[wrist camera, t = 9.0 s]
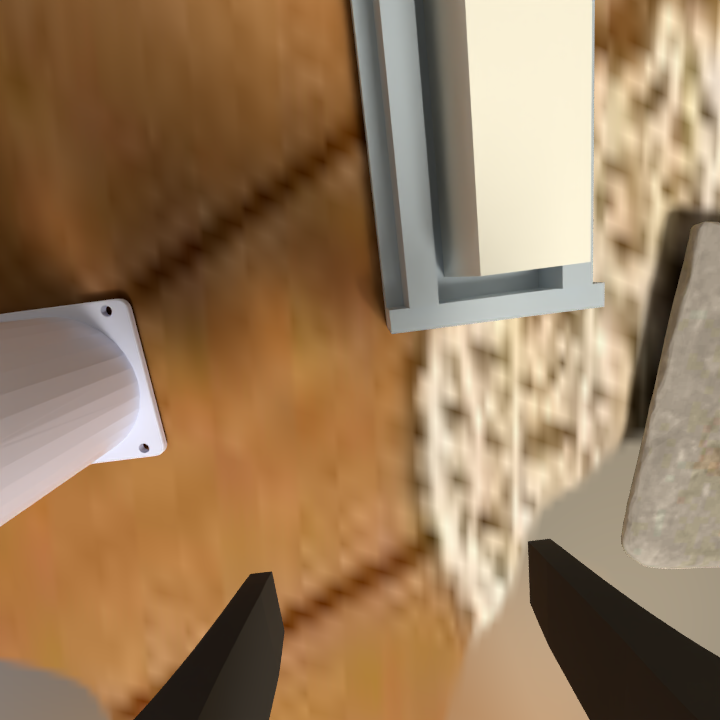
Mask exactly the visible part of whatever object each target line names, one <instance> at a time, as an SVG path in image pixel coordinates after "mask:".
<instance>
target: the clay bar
mask: <svg viewBox="0 0 720 720" xmlns="http://www.w3.org/2000/svg"><path fill="white" fill-rule="evenodd" d="M423 8H424V21H425V34H426V46H427V59H428V72H429V85H430V98H431V111H432V124H433V137H434V150H435V162H436V175H437V188H438V201H439V214H440V227H441V240H442V253H443V266H444V277H471V276H486V275H494V274H502V273H509V272H517V271H525V270H532V269H540V268H547V267H555V266H563V265H570V264H578V263H586V262H591V103H592V0H423Z"/></svg>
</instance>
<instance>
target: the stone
mask: <svg viewBox="0 0 720 720" xmlns="http://www.w3.org/2000/svg"><path fill="white" fill-rule="evenodd" d="M621 544H622V547H623V549H624V551H625V553H626V554H627V555H628V556H630V557H631V558H632V559H634V560H635V561H637V562H638V563H640V564H641V565H644V566H646V567H652V568H663V569H689V568H710V567H711V568H712V567H720V222H713V221H706V222H701V223H699V224H696V225H693V226H692V228H691V230H690V237H689V241H688V244H687V248H686V252H685V258H684V262H683V266H682V270H681V274H680V278H679V282H678V286H677V290H676V294H675V297H674V301H673V305H672V309H671V314H670V318H669V322H668V327H667V331H666V335H665V340H664V345H663V349H662V354H661V359H660V363H659V368H658V373H657V378H656V382H655V387H654V391H653V395H652V399H651V403H650V406H649V412H648V417H647V421H646V425H645V430H644V434H643V438H642V443H641V447H640V452H639V457H638V461H637V465H636V469H635V473H634V477H633V482H632V486H631V490H630V495H629V499H628V502H627V508H626V514H625V518H624V522H623V530H622V535H621Z"/></svg>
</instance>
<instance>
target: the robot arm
mask: <svg viewBox="0 0 720 720" xmlns="http://www.w3.org/2000/svg"><path fill="white" fill-rule="evenodd" d="M107 306H109V307H110V308H111V310H112V314H111V316H110V315H109V314H108V313H107V311H106V308H107ZM143 444H147V445H148V446H149V449H146V448H144V446H143ZM166 448H167V442H166V438H165V434H164V430H163V426H162V423H161V419H160V415H159V411H158V407H157V403H156V399H155V396H154V392H153V388H152V384H151V380H150V376H149V372H148V369H147V365H146V361H145V357H144V353H143V349H142V346H141V342H140V338H139V334H138V330H137V326H136V322H135V319H134V315H133V311H132V307H131V305H130V303H129V302H128V301H126V300H124V299H110V300H102V301H95V302H87V303H80V304H72V305H65V306H57V307H50V308H42V309H35V310H27V311H19V312H12V313H4V314H0V526H2V525H3V524H5V523H6V522H8V521H9V520H10V519H12V518H13V517H15V516H16V515H18V514H19V513H21V512H22V511H23V510H25V509H26V508H28V507H29V506H31V505H32V504H34V503H35V502H36V501H38V500H39V499H41V498H42V497H44V496H45V495H47V494H48V493H49V492H51V491H52V490H54V489H55V488H57V487H58V486H59V485H61V484H62V483H64V482H65V481H67V480H68V479H70V478H71V477H72V476H74V475H75V474H77V473H78V472H80V471H81V470H83V469H84V468H85V467H87V466H88V465H90V464H93V463H101V462H109V461H117V460H125V459H134V458H142V457H150V456H157V455H160V454H161V453H162V452H163V451H165V450H166ZM528 555H529V583H530V603H531V606H532V608H533V611H534V613H535V615H536V618H537V620H538V622H539V625H540V627H541V629H542V631H543V634H544V636H545V638H546V641H547V643H548V645H549V647H550V649H551V651H552V653H553V654H554V656H555V658H556V660H557V662H558V664H559V665H560V667H561V669H562V671H563V673H564V674H565V676H566V678H567V680H568V682H569V683H570V685H571V687H572V689H573V691H574V692H575V694H576V696H577V698H578V700H579V701H580V703H581V705H582V707H583V709H584V710H585V712H586V714H587V716H588V718H589V719H590V720H720V657H718V656H716V655H715V654H713V653H712V652H710V651H708V650H707V649H705V648H703V647H701V646H700V645H698V644H697V643H695V642H694V641H692V640H690V639H689V638H687V637H686V636H684V635H682V634H681V633H679V632H678V631H676V630H675V629H673V628H672V627H670V626H669V625H667V624H666V623H664V622H663V621H661V620H660V619H658V618H657V617H655V616H654V615H652V614H651V613H649V612H648V611H646V610H645V609H644V608H642V607H641V606H639V605H638V604H637V603H635V602H634V601H632V600H631V599H629V598H628V597H627V596H625V595H624V594H622V593H621V592H620V591H618V590H617V589H616V588H614V587H613V586H612V585H610V584H609V583H607V582H606V581H605V580H603V579H602V578H601V577H599V576H598V575H597V574H595V573H594V572H593V571H592V570H590V569H589V568H587V567H586V566H585V565H584V564H582V563H581V562H580V561H578V560H577V559H576V558H575V557H573V556H572V555H571V554H569V553H568V552H567V551H565V550H564V549H563V548H562V547H560V546H559V545H557V544H556V543H555V542H554V541H552V540H551V539H545V540H536V541H528ZM283 639H284V627H283V622H282V617H281V613H280V608H279V603H278V598H277V594H276V589H275V584H274V579H273V575H272V572H264V573H255V574H250V575H249V577H248V578H247V579H246V581H245V582H244V583H243V585H242V586H241V587H240V589H239V590H238V591H237V593H236V594H235V595H234V597H233V598H232V600H231V601H230V602H229V604H228V605H227V606H226V608H225V609H224V610H223V612H222V613H221V615H220V616H219V617H218V619H217V620H216V621H215V623H214V624H213V625H212V626H211V628H210V629H209V630H208V632H207V633H206V634H205V636H204V637H203V638H202V640H201V641H200V642H199V643H198V645H197V646H196V647H195V649H194V650H193V651H192V652H191V654H190V655H189V656H188V657H187V659H186V660H185V661H184V662H183V663H182V665H181V666H180V667H179V668H178V669H177V671H176V672H175V673H174V674H173V675H172V677H171V678H170V679H169V680H168V682H167V683H166V684H165V685H164V686H163V687H162V689H161V690H160V691H159V692H158V693H157V694H156V696H155V697H154V698H153V699H152V700H151V701H150V702H149V703H148V705H147V706H146V707H145V708H144V709H143V710H142V711H141V712H140V713H139V714H138V716H137V717H136V718H135V719H134V720H269V717H270V713H271V708H272V704H273V699H274V695H275V691H276V686H277V681H278V677H279V670H280V663H281V656H282V647H283Z"/></svg>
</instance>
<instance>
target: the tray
mask: <svg viewBox="0 0 720 720" xmlns="http://www.w3.org/2000/svg"><path fill="white" fill-rule="evenodd" d="M350 4H351V13H352V22H353V31H354V39H355V48H356V57H357V66H358V75H359V83H360V92H361V101H362V110H363V119H364V128H365V136H366V145H367V154H368V163H369V172H370V180H371V189H372V198H373V207H374V216H375V225H376V233H377V242H378V251H379V260H380V269H381V277H382V286H383V295H384V304H385V313H386V322H387V327H388V329H389V330H390V332H391V333H392V334H395V333H403V332H411V331H419V330H426V329H434V328H442V327H450V326H457V325H465V324H473V323H481V322H488V321H496V320H504V319H512V318H519V317H527V316H535V315H543V314H551V313H558V312H566V311H574V310H582V309H589V308H597V307H604V283H603V282H593V164H594V14H595V0H592V103H591V262H586V263H578V264H570V265H563V266H555V267H547V268H540V269H532V270H525V271H517V272H509V273H502V274H494V275H486V276H471V277H444V266H443V253H442V240H441V227H440V214H439V201H438V188H437V175H436V162H435V150H434V137H433V124H432V111H431V98H430V85H429V72H428V59H427V46H426V34H425V21H424V8H423V0H350Z"/></svg>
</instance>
